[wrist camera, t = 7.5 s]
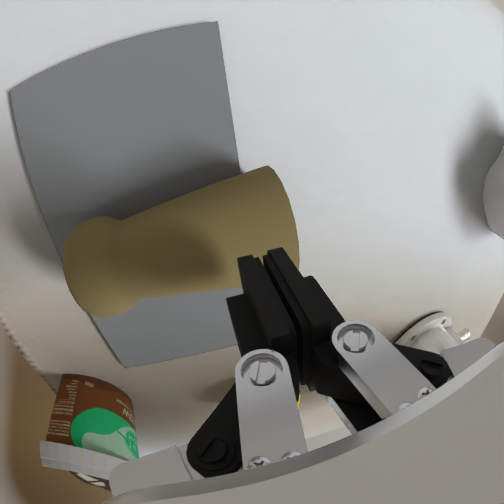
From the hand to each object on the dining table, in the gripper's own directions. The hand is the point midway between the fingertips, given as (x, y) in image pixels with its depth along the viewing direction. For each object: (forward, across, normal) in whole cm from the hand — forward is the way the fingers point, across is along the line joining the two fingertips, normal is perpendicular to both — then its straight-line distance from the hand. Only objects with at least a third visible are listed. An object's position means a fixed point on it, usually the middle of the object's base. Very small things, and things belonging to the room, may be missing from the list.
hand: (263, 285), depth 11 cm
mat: (+8, +5, 0) cm, 9 cm away
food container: (+8, +15, +16) cm, 23 cm away
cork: (+4, -2, 0) cm, 5 cm away
